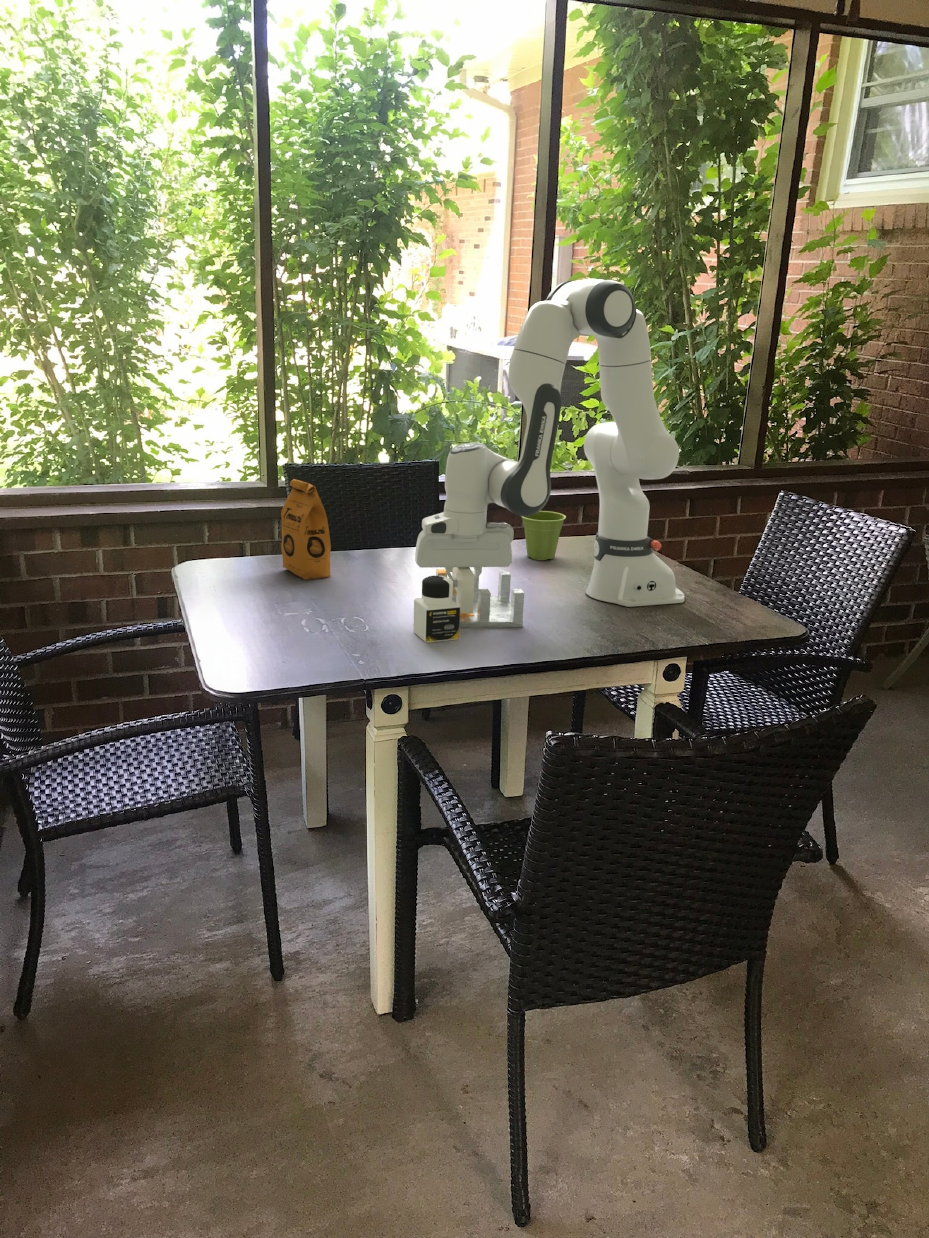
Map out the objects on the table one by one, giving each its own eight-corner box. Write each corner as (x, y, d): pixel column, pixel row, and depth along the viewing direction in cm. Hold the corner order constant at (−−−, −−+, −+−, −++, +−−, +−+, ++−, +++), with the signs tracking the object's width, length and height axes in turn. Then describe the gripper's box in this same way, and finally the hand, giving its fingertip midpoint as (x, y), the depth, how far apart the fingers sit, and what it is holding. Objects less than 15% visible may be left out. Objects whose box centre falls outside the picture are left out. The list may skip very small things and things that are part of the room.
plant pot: (514, 551, 260) (517, 510, 256) (558, 552, 261) (561, 511, 258) (522, 562, 249) (524, 520, 245) (567, 563, 250) (570, 520, 247)
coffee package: (297, 582, 224) (296, 488, 217) (277, 569, 234) (275, 479, 227) (336, 577, 229) (336, 485, 222) (315, 565, 239) (314, 476, 232)
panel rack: (506, 601, 216) (507, 568, 213) (522, 627, 199) (524, 591, 196) (435, 601, 213) (436, 568, 211) (445, 628, 196) (447, 592, 194)
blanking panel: (462, 593, 211) (464, 558, 209) (473, 613, 198) (474, 576, 196) (451, 593, 211) (452, 558, 209) (461, 613, 198) (462, 576, 195)
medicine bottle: (425, 643, 187) (427, 584, 183) (412, 632, 193) (414, 574, 190) (459, 640, 190) (461, 581, 186) (445, 628, 196) (447, 571, 192)
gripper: (511, 519, 204) (507, 582, 208) (414, 519, 201) (413, 583, 205) (517, 526, 198) (513, 590, 202) (418, 526, 195) (416, 591, 199)
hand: (462, 586), depth 204 cm, fingers closed on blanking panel, 2 cm apart
